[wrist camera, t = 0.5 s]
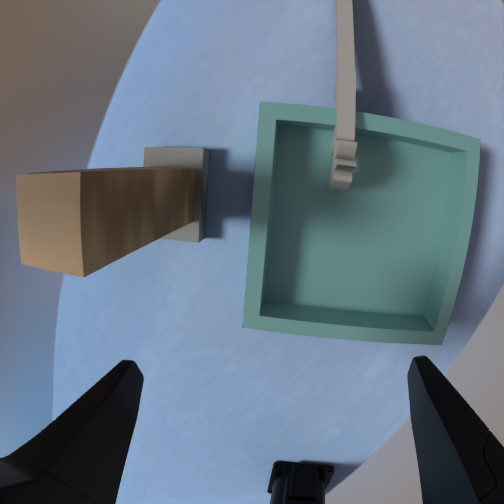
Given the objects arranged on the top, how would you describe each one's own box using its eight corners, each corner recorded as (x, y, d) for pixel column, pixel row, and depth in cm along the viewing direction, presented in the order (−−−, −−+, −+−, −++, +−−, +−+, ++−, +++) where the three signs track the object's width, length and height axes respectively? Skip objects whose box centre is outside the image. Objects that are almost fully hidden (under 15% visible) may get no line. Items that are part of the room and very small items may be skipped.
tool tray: (426, 323, 22) (441, 344, 19) (251, 305, 24) (242, 327, 21) (457, 142, 18) (480, 139, 15) (266, 112, 20) (260, 101, 17)
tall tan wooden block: (204, 238, 23) (96, 315, 10) (150, 232, 24) (20, 293, 11) (209, 149, 22) (92, 129, 9) (153, 148, 22) (12, 140, 9)
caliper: (341, 187, 21) (355, 194, 15) (325, 185, 21) (334, 191, 15) (346, -46, 16) (353, -91, 10) (332, -48, 16) (336, -93, 10)
